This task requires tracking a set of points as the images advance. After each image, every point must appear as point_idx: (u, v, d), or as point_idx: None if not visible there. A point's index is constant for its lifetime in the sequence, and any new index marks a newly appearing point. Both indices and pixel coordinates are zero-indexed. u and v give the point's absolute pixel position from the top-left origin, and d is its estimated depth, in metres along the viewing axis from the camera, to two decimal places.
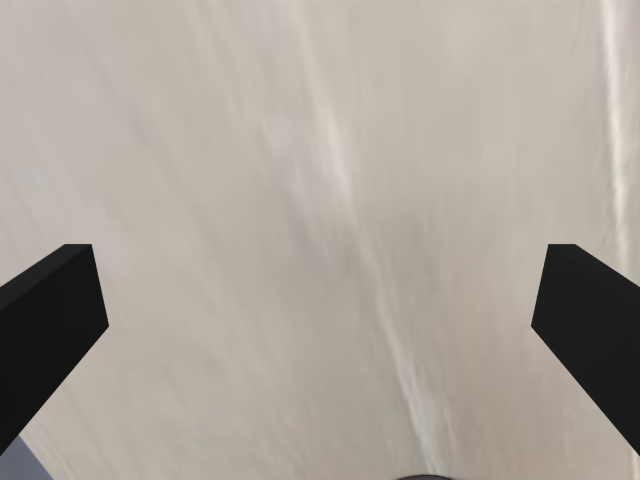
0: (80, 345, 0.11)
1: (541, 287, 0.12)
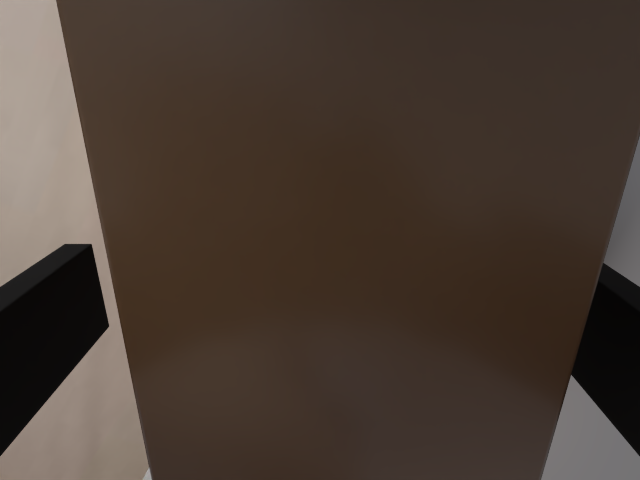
0: (80, 345, 0.11)
1: None
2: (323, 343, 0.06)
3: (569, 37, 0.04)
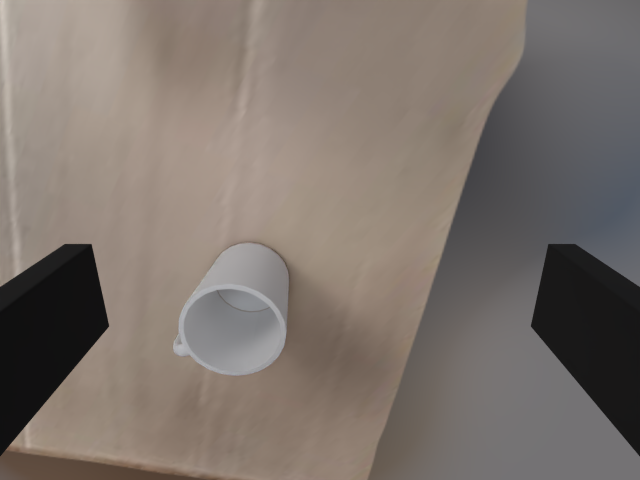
0: (80, 345, 0.11)
1: (540, 287, 0.12)
2: None
3: None
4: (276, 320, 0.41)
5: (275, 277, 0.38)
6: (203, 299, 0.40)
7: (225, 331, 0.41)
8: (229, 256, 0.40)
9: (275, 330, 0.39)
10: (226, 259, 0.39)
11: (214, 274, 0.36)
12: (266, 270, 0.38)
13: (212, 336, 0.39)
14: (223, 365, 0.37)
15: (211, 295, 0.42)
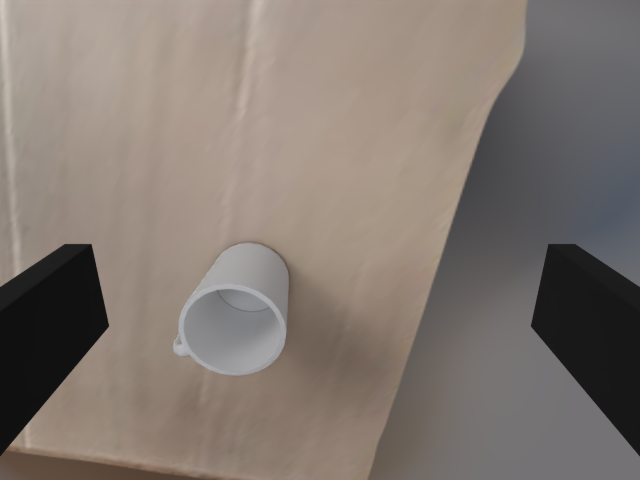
0: (80, 345, 0.11)
1: (540, 287, 0.12)
2: None
3: None
4: (276, 320, 0.41)
5: (275, 277, 0.38)
6: (203, 299, 0.40)
7: (225, 331, 0.41)
8: (229, 256, 0.40)
9: (275, 330, 0.39)
10: (226, 259, 0.39)
11: (214, 274, 0.36)
12: (266, 270, 0.38)
13: (212, 336, 0.39)
14: (223, 365, 0.37)
15: (211, 295, 0.42)
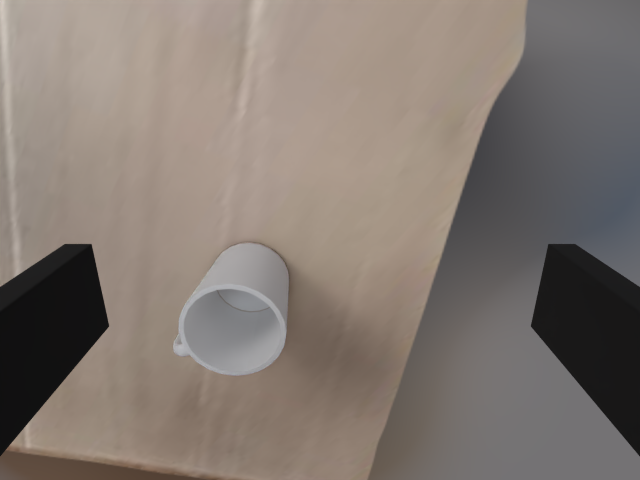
0: (80, 345, 0.11)
1: (540, 287, 0.12)
2: None
3: None
4: (276, 320, 0.41)
5: (275, 277, 0.38)
6: (203, 299, 0.40)
7: (225, 331, 0.41)
8: (229, 256, 0.40)
9: (275, 330, 0.39)
10: (226, 259, 0.39)
11: (214, 274, 0.36)
12: (266, 270, 0.38)
13: (212, 336, 0.39)
14: (223, 365, 0.37)
15: (211, 295, 0.42)
